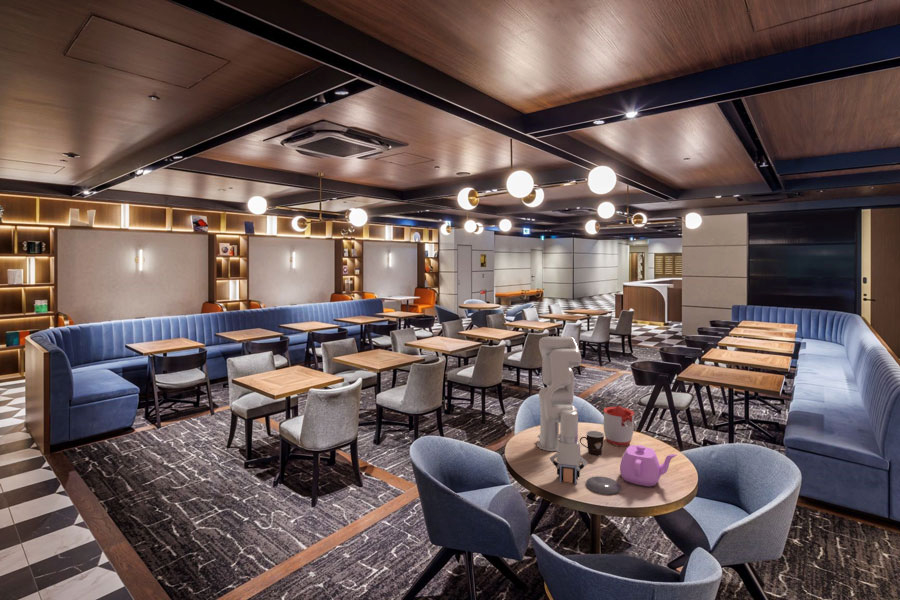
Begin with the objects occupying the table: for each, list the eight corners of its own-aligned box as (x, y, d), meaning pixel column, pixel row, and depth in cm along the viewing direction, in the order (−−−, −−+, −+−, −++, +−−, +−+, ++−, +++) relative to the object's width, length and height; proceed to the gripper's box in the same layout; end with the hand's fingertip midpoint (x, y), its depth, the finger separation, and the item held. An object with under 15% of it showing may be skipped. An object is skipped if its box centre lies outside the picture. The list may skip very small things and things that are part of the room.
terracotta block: (563, 477, 202) (563, 464, 201) (572, 478, 201) (573, 465, 200) (563, 481, 198) (563, 468, 197) (572, 482, 197) (572, 469, 196)
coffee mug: (603, 450, 229) (604, 431, 229) (603, 457, 221) (604, 438, 220) (580, 447, 233) (580, 429, 232) (579, 454, 225) (579, 435, 224)
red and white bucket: (615, 450, 230) (616, 412, 228) (597, 437, 246) (597, 402, 245) (642, 447, 233) (643, 410, 231) (622, 435, 250) (623, 400, 248)
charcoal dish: (579, 482, 197) (579, 480, 197) (604, 476, 202) (604, 474, 202) (602, 497, 184) (602, 495, 184) (627, 490, 190) (628, 488, 190)
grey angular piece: (560, 475, 204) (560, 458, 203) (576, 477, 202) (576, 460, 201) (559, 482, 197) (559, 464, 196) (576, 484, 195) (576, 466, 194)
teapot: (615, 487, 193) (616, 453, 191) (622, 467, 211) (623, 436, 210) (675, 500, 182) (676, 464, 181) (676, 478, 200) (678, 445, 199)
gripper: (548, 439, 196) (547, 478, 198) (589, 443, 192) (588, 483, 193) (549, 433, 204) (548, 471, 205) (589, 437, 199) (588, 475, 200)
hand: (568, 476), depth 199 cm, fingers closed on grey angular piece, 7 cm apart
